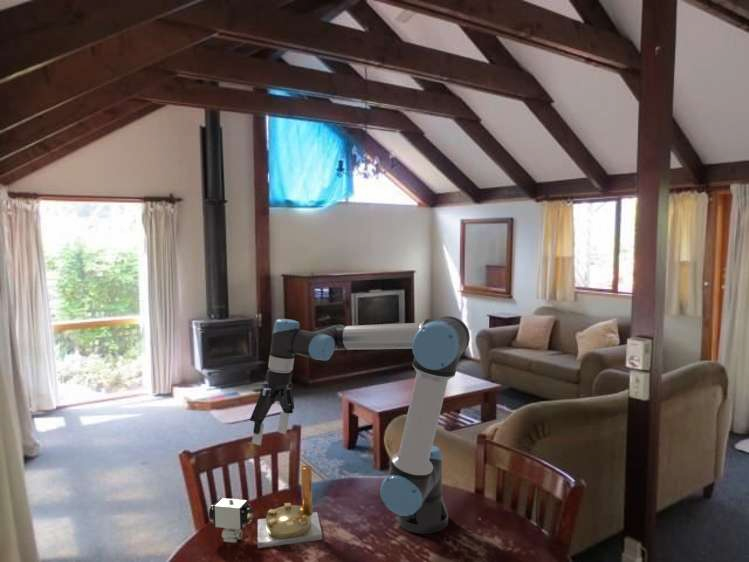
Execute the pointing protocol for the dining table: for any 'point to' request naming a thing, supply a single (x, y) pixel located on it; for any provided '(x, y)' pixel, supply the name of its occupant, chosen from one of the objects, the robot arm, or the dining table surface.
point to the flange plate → (269, 540)
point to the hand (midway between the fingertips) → (269, 438)
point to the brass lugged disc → (293, 512)
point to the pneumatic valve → (231, 517)
